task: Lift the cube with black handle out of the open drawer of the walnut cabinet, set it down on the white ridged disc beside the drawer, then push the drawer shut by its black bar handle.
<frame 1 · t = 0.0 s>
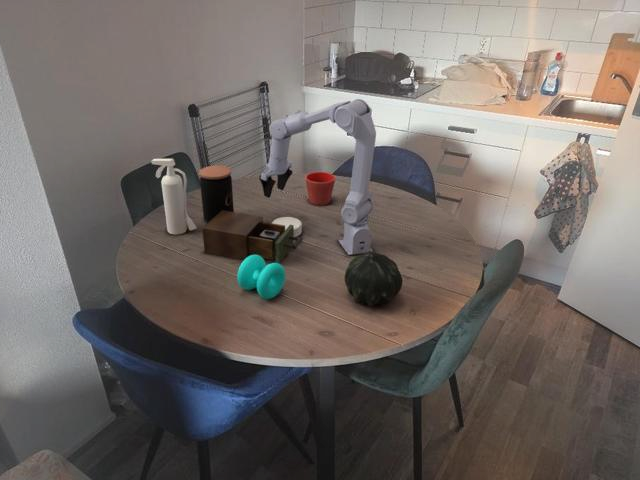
hand: (273, 192, 168), 11 cm above the table, tool pointing down, fingers open, 7 cm apart
coffee jar: (219, 220, 175), on the table
teal yo-yo: (262, 292, 136), on the table
cube with black handle: (270, 247, 153), point 2 cm above the table, touching drawer
fire extinguisher: (180, 231, 168), on the table
cabinet: (235, 246, 158), on the table
drawer: (272, 241, 152), point 4 cm above the table, slide at 9.0 cm, touching cube with black handle
white ridged disc: (286, 232, 166), on the table
squash: (371, 297, 134), on the table
flower pot: (319, 201, 188), on the table
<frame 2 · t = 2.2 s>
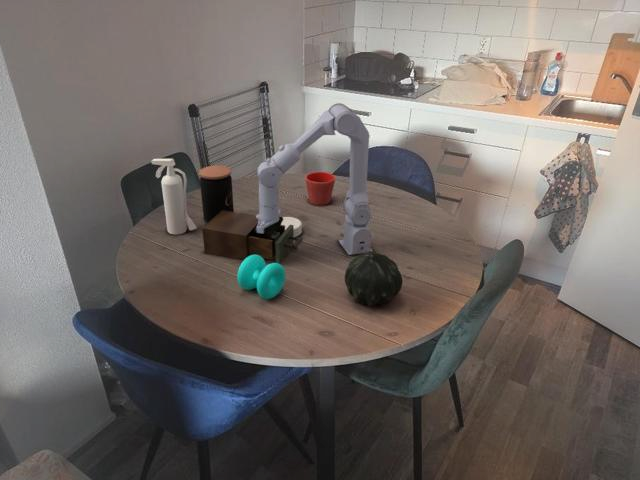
hand: (269, 244, 153), 3 cm above the table, tool pointing down, fingers closed on drawer, 6 cm apart
drawer: (272, 241, 152), point 4 cm above the table, slide at 9.0 cm, touching cube with black handle, gripper
everything else where it was.
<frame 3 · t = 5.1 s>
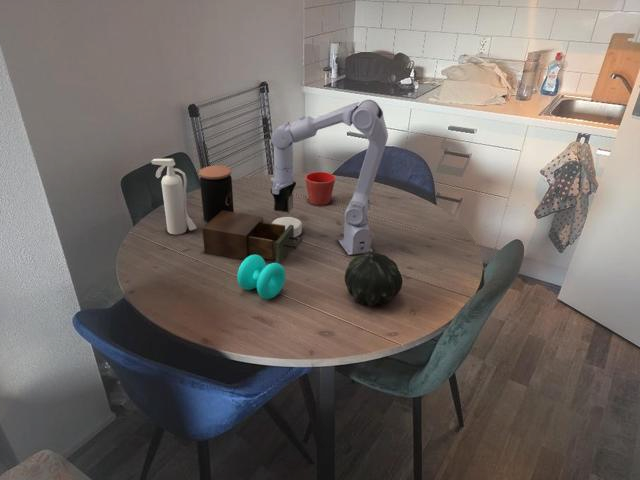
hand: (283, 207, 158), 10 cm above the table, tool pointing down, fingers closed on cube with black handle, 4 cm apart
cube with black handle: (283, 209, 159), point 10 cm above the table, touching gripper
drawer: (272, 241, 152), point 4 cm above the table, slide at 9.0 cm
everything else where it was.
when the fingers open (4 cm above the table, at t = 7.4 s): cube with black handle stays where it is, resting on white ridged disc.
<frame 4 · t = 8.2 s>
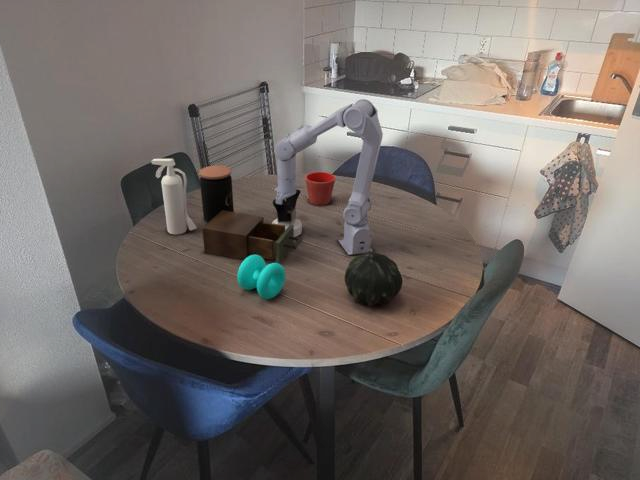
hand: (286, 216, 163), 6 cm above the table, tool pointing down, fingers open, 7 cm apart
cube with black handle: (286, 222, 164), point 4 cm above the table, touching white ridged disc
white ridged disc: (286, 232, 166), on the table, touching cube with black handle
everything else where it was.
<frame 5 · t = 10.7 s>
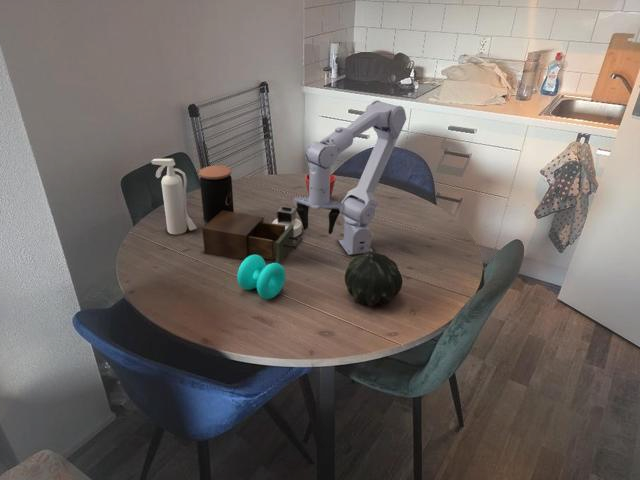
hand: (318, 230, 144), 10 cm above the table, tool pointing down, fingers open, 7 cm apart
nothing on the table moved.
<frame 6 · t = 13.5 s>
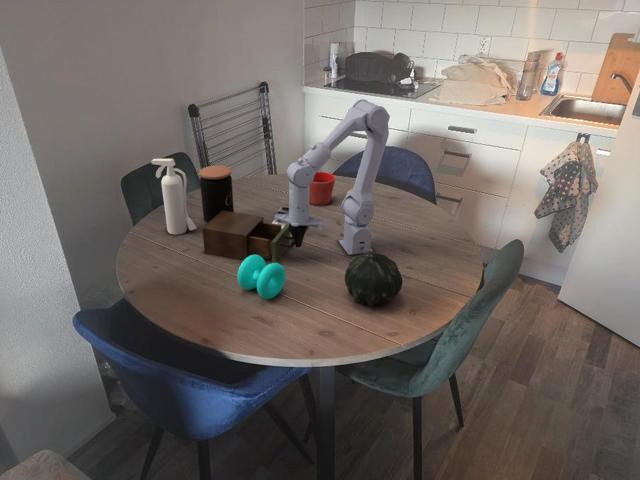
hand: (298, 246, 149), 4 cm above the table, tool pointing down, fingers closed
drawer: (268, 240, 152), point 4 cm above the table, slide at 7.8 cm, touching gripper
everything else where it was.
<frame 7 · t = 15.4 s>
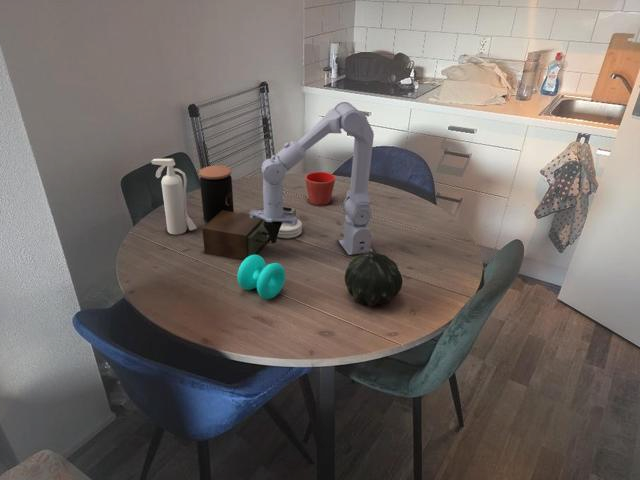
hand: (273, 241, 152), 4 cm above the table, tool pointing down, fingers closed
drawer: (245, 236, 155), point 4 cm above the table, slide at 0.0 cm, touching cabinet, gripper
everything else where it was.
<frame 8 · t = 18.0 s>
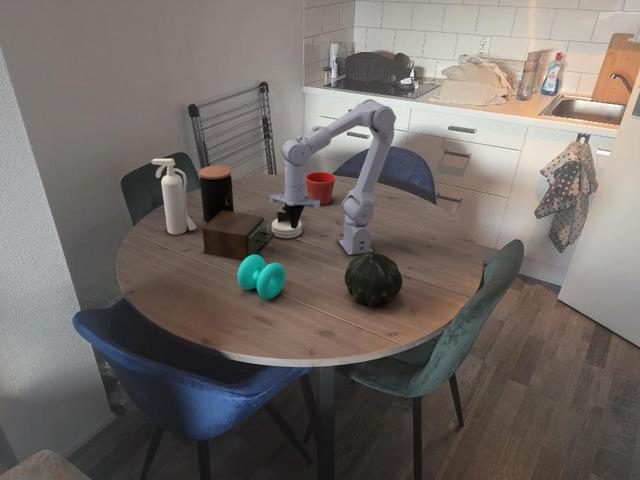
hand: (294, 227, 146), 10 cm above the table, tool pointing down, fingers closed
drawer: (245, 236, 155), point 4 cm above the table, slide at 0.0 cm
everything else where it was.
at the end: cube with black handle 0.0 cm off-centre on the white ridged disc, point 3.7 cm above the white ridged disc's base; cube with black handle tilted 0°; drawer slide at 0.0 cm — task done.
